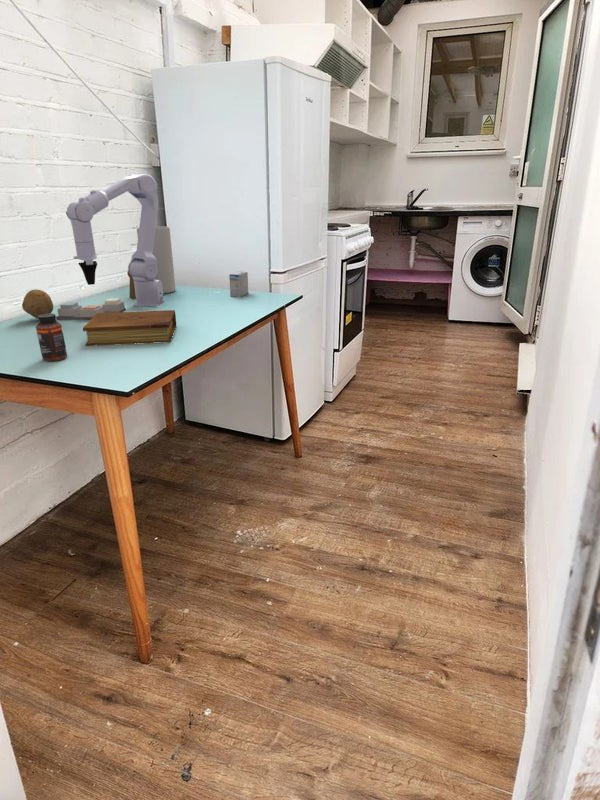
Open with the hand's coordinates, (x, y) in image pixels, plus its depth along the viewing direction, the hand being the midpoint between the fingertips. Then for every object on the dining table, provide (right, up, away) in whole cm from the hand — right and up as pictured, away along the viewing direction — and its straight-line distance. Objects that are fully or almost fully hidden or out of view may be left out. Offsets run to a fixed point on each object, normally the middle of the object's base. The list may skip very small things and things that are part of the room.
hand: (91, 284), depth 178 cm
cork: (+6, +1, +31) cm, 31 cm away
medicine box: (+45, +3, +33) cm, 56 cm away
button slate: (-8, -9, +1) cm, 11 cm away
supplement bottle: (+7, -28, -41) cm, 50 cm away
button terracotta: (0, -10, 0) cm, 10 cm away
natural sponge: (-16, -12, -2) cm, 20 cm away
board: (-1, -9, +4) cm, 10 cm away
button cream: (+5, -6, +7) cm, 10 cm away
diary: (+21, -20, -21) cm, 35 cm away
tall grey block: (+12, +6, +41) cm, 43 cm away
